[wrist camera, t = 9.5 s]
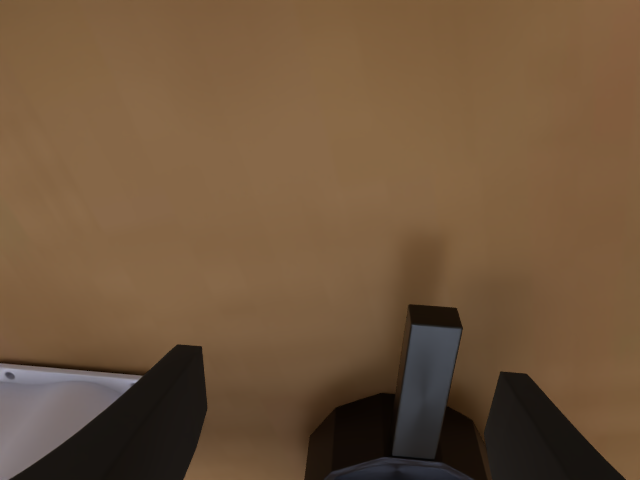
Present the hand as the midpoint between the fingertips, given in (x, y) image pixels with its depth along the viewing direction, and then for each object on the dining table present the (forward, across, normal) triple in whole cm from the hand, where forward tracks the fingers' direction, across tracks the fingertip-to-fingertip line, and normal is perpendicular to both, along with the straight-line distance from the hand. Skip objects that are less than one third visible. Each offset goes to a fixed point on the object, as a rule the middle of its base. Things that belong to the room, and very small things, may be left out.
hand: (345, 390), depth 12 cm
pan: (+10, -3, +11) cm, 16 cm away
